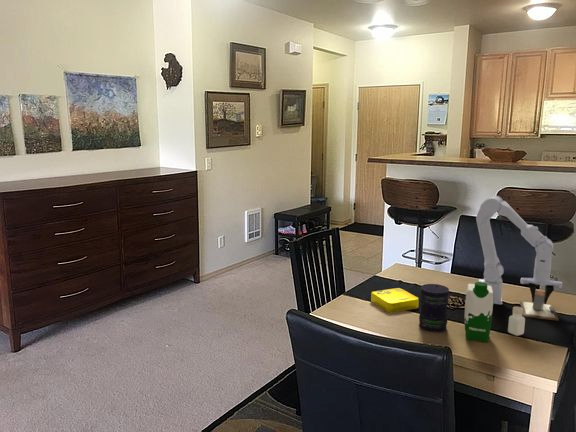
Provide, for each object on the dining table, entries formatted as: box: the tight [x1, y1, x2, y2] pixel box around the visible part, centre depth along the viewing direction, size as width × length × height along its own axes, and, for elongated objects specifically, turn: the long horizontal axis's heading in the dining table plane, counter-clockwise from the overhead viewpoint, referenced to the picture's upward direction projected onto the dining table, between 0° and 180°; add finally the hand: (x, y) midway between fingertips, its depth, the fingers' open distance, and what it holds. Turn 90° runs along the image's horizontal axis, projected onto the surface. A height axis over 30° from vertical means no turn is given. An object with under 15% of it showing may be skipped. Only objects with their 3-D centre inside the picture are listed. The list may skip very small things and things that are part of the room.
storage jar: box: [418, 283, 450, 334], centre depth 173 cm, size 10×10×15 cm
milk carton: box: [463, 281, 494, 343], centre depth 164 cm, size 9×9×20 cm
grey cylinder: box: [532, 289, 546, 311], centre depth 188 cm, size 3×3×7 cm
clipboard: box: [519, 300, 560, 322], centre depth 189 cm, size 12×16×2 cm
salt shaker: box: [507, 306, 526, 337], centre depth 168 cm, size 4×4×10 cm
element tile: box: [370, 287, 420, 313], centre depth 196 cm, size 15×15×5 cm
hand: (539, 302), depth 190 cm, fingers closed on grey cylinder, 3 cm apart
